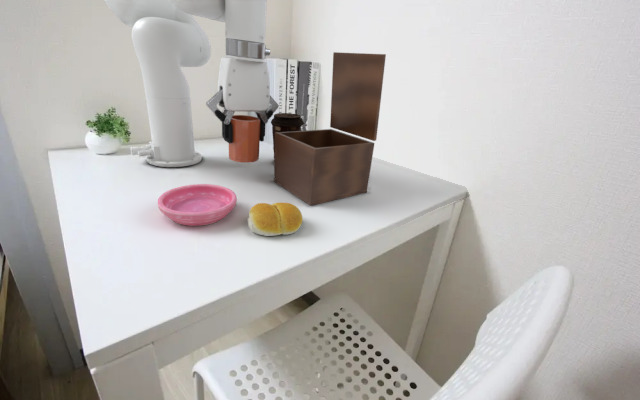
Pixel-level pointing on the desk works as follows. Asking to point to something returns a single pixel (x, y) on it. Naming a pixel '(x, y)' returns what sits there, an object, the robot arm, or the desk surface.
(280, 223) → the bread roll
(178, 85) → the robot arm
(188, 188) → the saucer
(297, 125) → the coffee cup
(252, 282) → the desk surface
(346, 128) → the lid
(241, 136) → the tumbler
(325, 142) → the chest
